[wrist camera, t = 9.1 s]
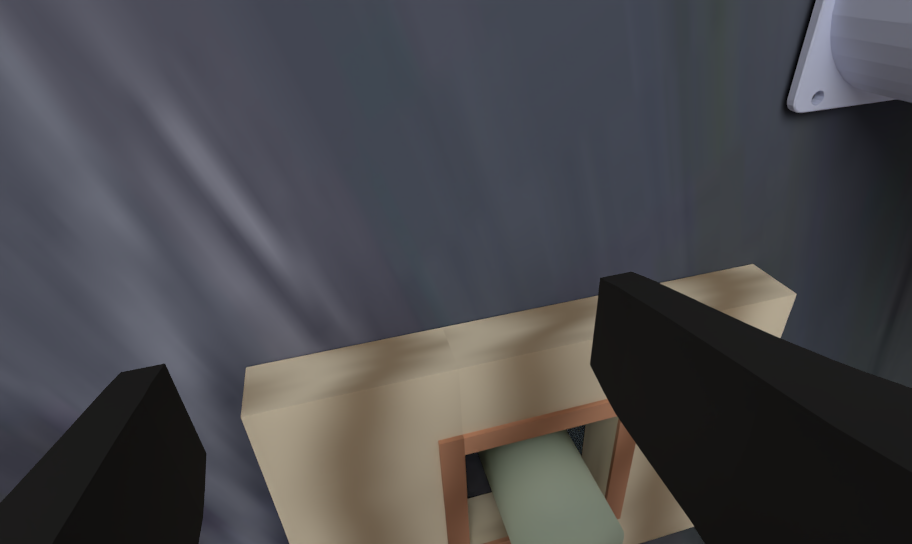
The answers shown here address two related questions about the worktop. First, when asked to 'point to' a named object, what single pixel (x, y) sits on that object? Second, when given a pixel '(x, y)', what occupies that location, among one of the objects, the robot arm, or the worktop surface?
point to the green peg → (548, 493)
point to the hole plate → (460, 421)
